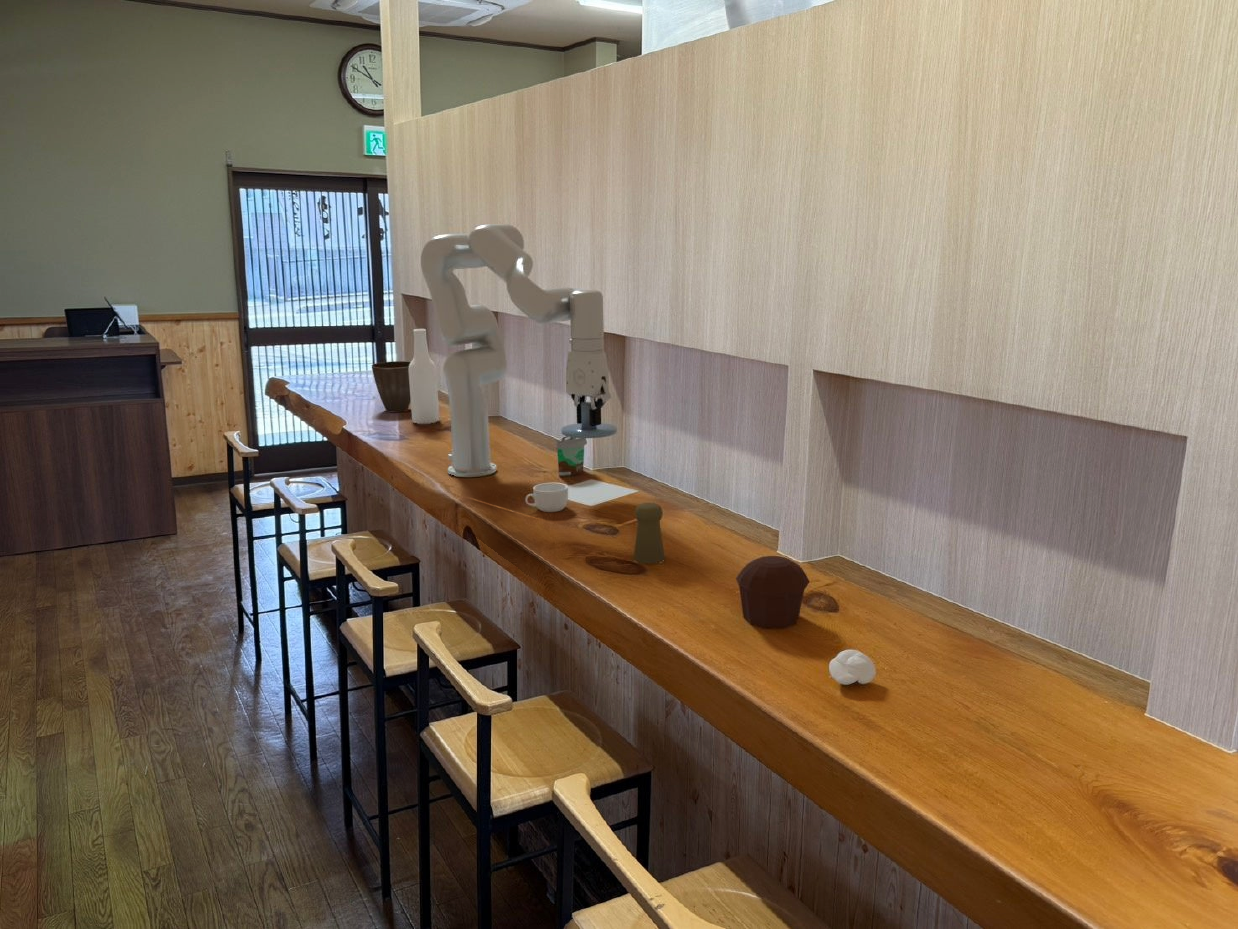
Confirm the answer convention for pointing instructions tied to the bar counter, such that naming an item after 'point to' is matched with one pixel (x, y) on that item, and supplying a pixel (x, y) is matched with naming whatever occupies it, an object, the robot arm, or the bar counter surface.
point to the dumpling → (852, 668)
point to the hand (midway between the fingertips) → (589, 423)
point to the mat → (596, 492)
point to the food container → (570, 456)
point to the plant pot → (393, 384)
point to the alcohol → (423, 382)
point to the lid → (588, 426)
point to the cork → (649, 534)
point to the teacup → (549, 496)
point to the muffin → (772, 591)
